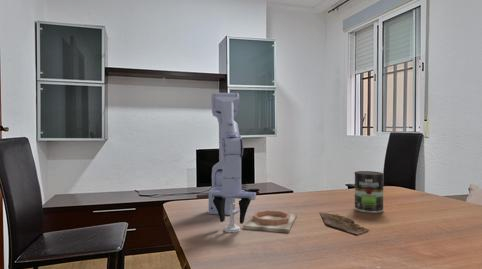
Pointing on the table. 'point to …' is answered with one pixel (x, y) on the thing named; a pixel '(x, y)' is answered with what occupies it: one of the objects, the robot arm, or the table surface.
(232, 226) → the chess piece
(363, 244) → the table surface
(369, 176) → the coffee can
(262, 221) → the ring collar
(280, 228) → the birch board
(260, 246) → the table surface
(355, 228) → the wooden fragment
